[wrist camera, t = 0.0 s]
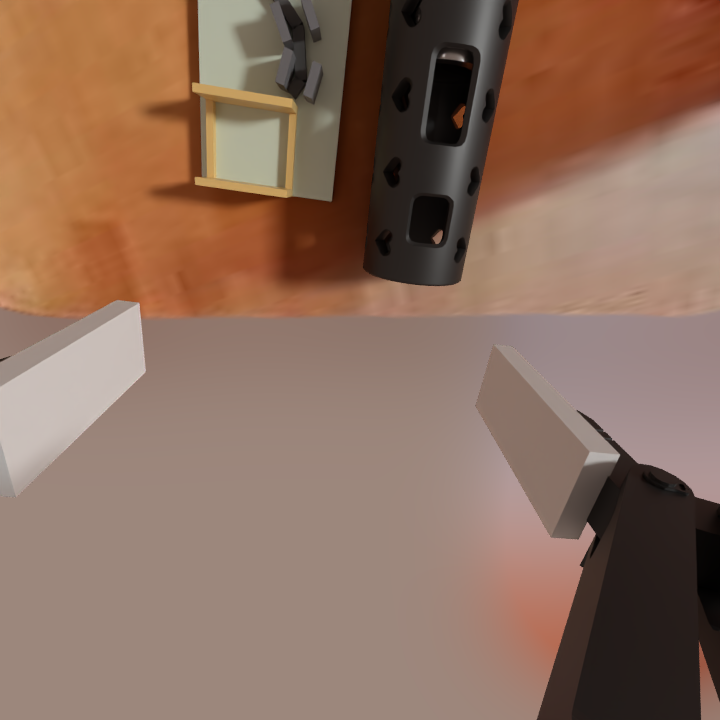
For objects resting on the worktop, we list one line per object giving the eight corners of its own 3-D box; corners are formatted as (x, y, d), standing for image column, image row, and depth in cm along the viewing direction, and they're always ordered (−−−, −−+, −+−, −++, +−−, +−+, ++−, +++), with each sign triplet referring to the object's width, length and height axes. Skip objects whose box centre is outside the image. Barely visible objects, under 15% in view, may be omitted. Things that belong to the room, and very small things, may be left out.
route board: (199, -95, 30) (179, -132, 26) (358, -63, 31) (360, -95, 27) (205, 182, 38) (190, 183, 34) (332, 201, 39) (330, 203, 35)
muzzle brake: (357, 257, 41) (361, 281, 32) (394, -122, 30) (417, -260, 20) (447, 266, 42) (477, 291, 33) (517, -101, 31) (594, -225, 21)
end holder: (208, 92, 34) (192, 82, 30) (297, 107, 35) (292, 98, 31) (209, 184, 37) (195, 184, 33) (292, 196, 38) (286, 197, 34)
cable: (213, -86, 29) (209, -94, 29) (252, -109, 29) (249, -117, 28) (291, 101, 34) (290, 99, 34) (325, 84, 34) (325, 82, 33)
